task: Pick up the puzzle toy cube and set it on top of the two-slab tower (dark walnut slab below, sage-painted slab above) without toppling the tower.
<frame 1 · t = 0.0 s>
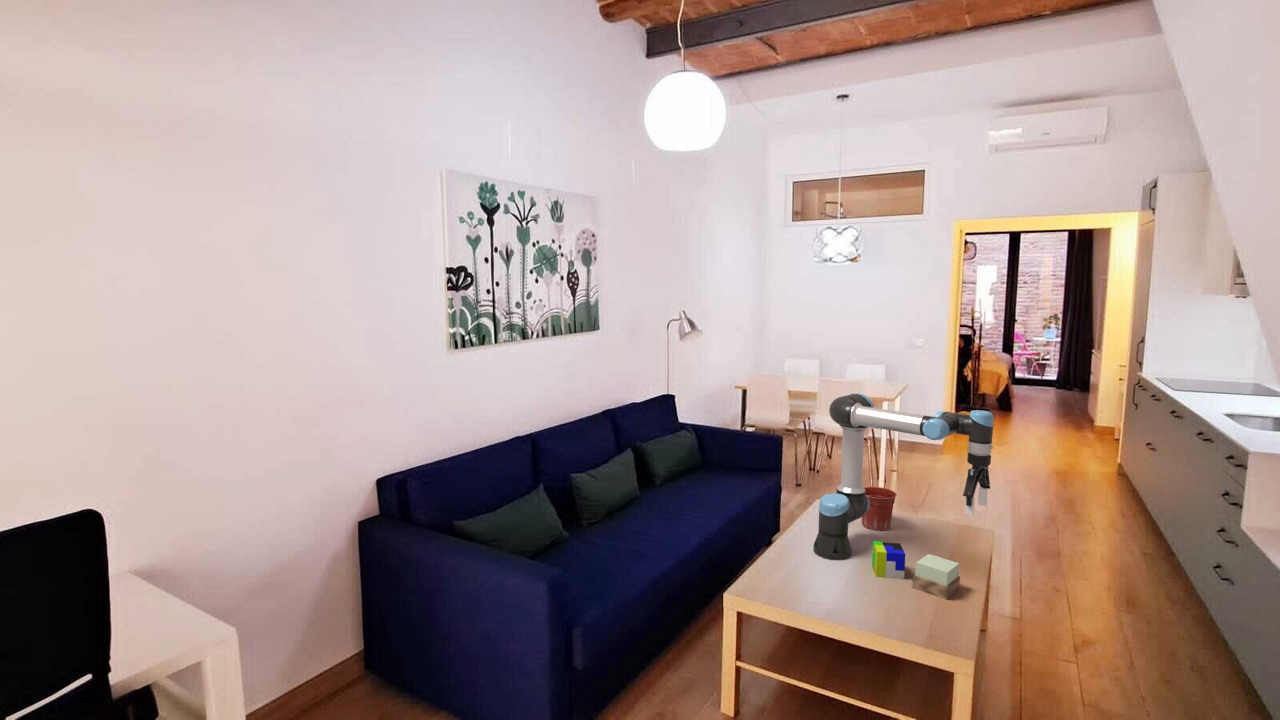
hand: (975, 509, 232), 28 cm above the table, fingers open, 13 cm apart
top slab: (936, 575, 230), point 5 cm above the table, touching bottom slab
puzzle toy: (887, 572, 243), on the table
bottom slab: (935, 589, 230), on the table, touching top slab
flower pot: (875, 526, 290), on the table
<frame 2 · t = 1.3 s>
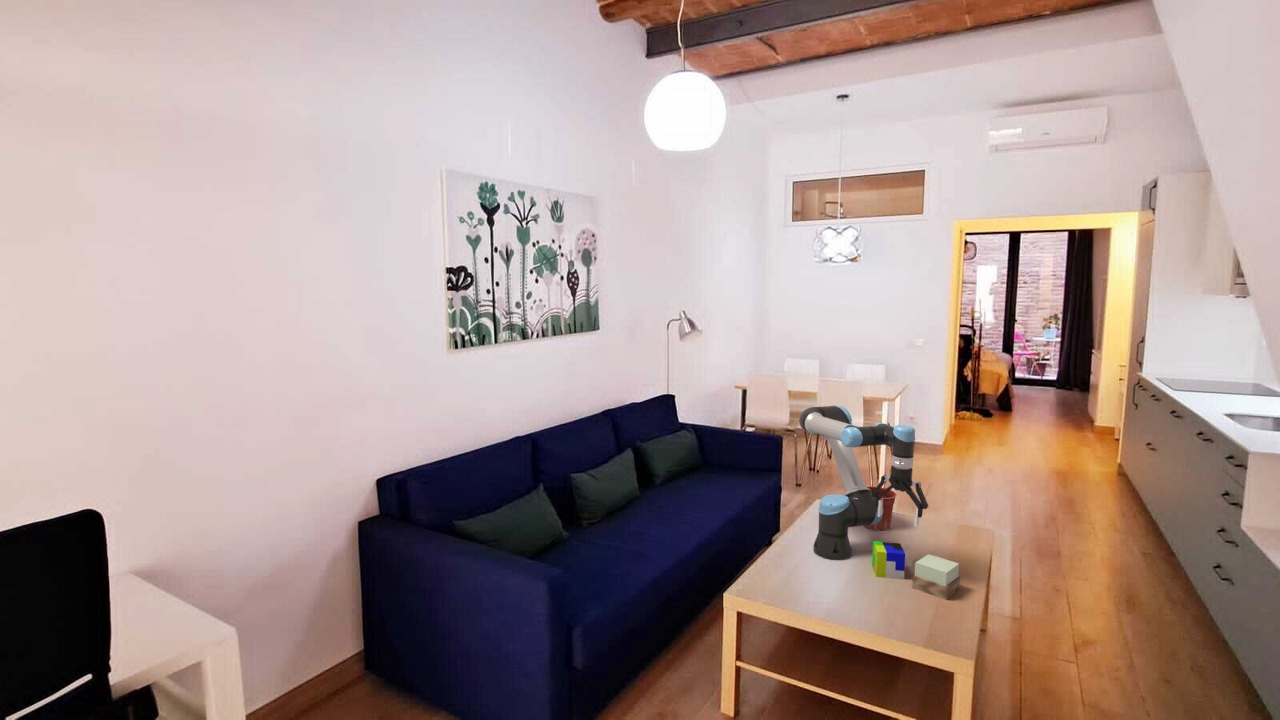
hand: (897, 520, 241), 21 cm above the table, fingers open, 13 cm apart
nothing on the table moved.
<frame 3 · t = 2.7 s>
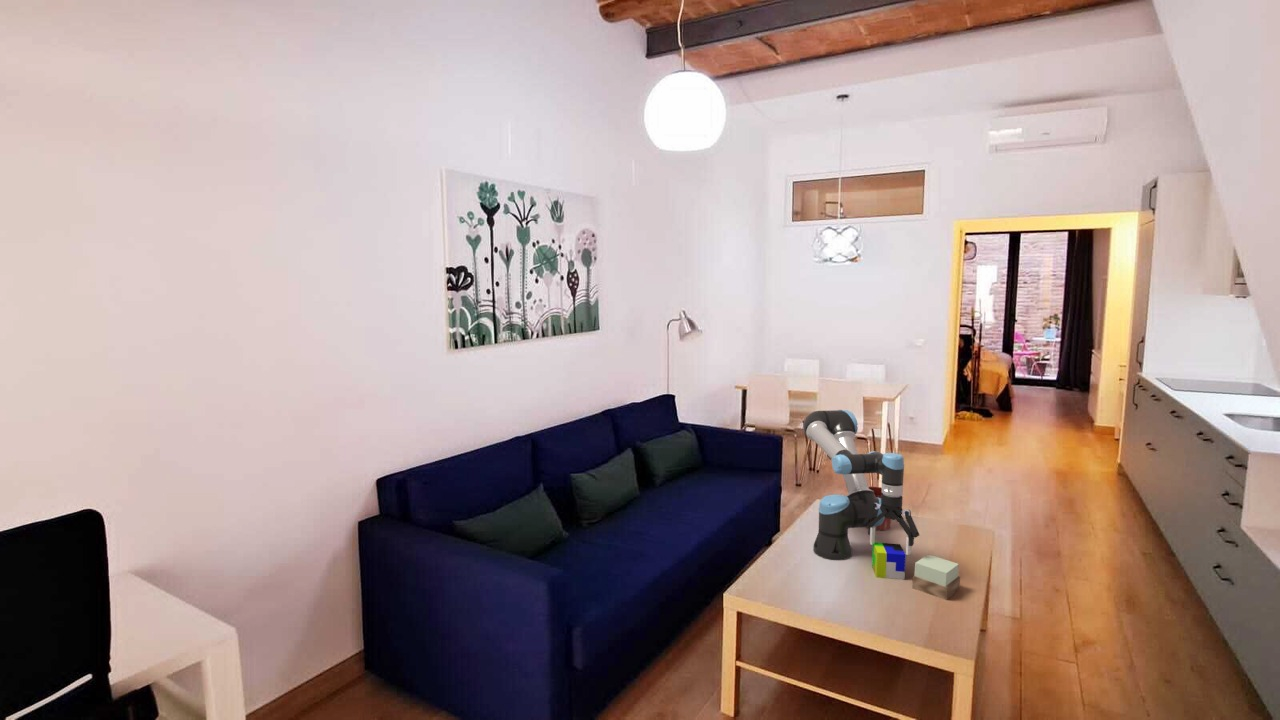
hand: (889, 549, 241), 10 cm above the table, fingers open, 13 cm apart
puzzle toy: (887, 573, 243), on the table, touching gripper
everything else where it was.
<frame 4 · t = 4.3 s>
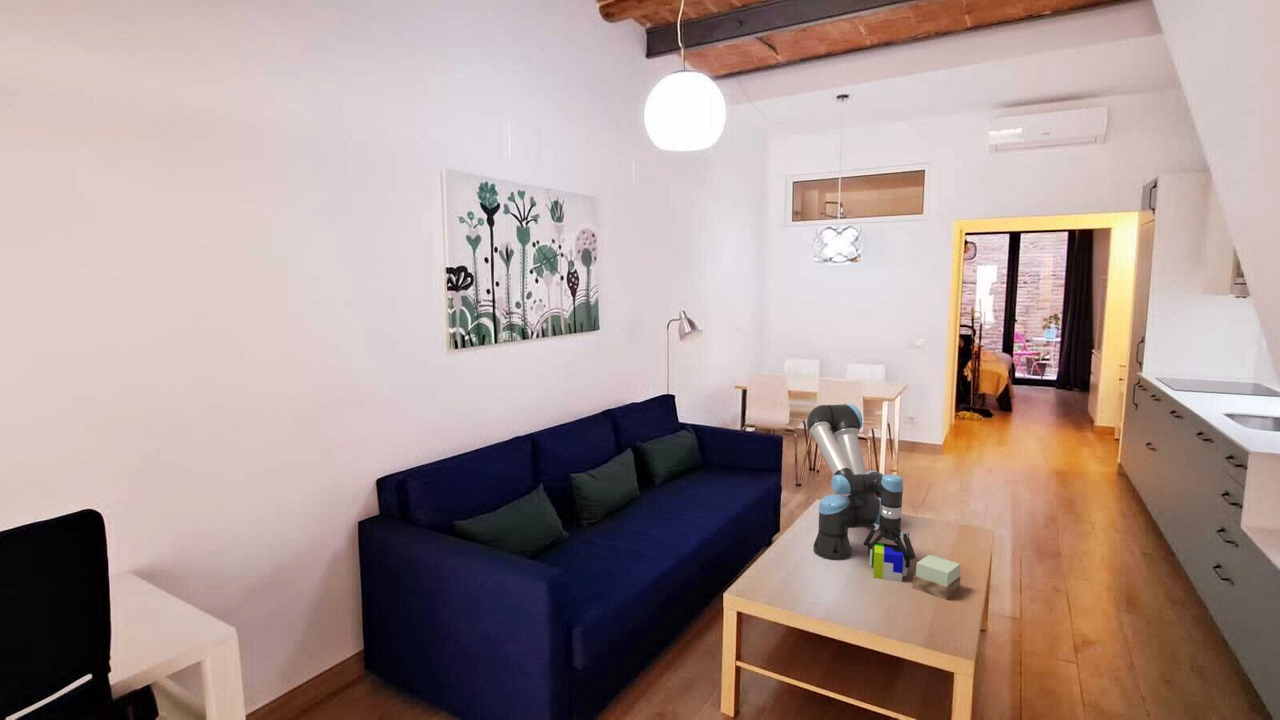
hand: (887, 569, 243), 1 cm above the table, fingers closed on puzzle toy, 12 cm apart
puzzle toy: (887, 574, 242), on the table, touching gripper
everything else where it was.
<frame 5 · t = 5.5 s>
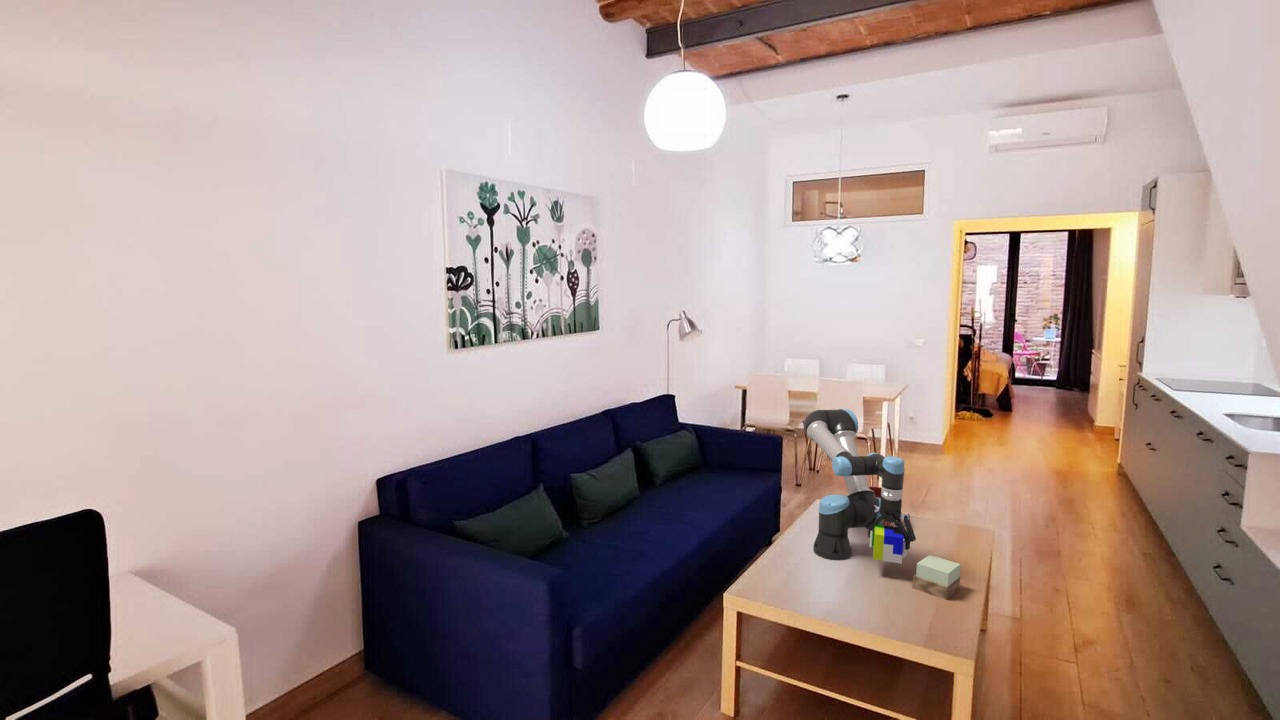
hand: (887, 551, 243), 8 cm above the table, fingers closed on puzzle toy, 12 cm apart
puzzle toy: (887, 556, 241), point 7 cm above the table, touching gripper
everything else where it was.
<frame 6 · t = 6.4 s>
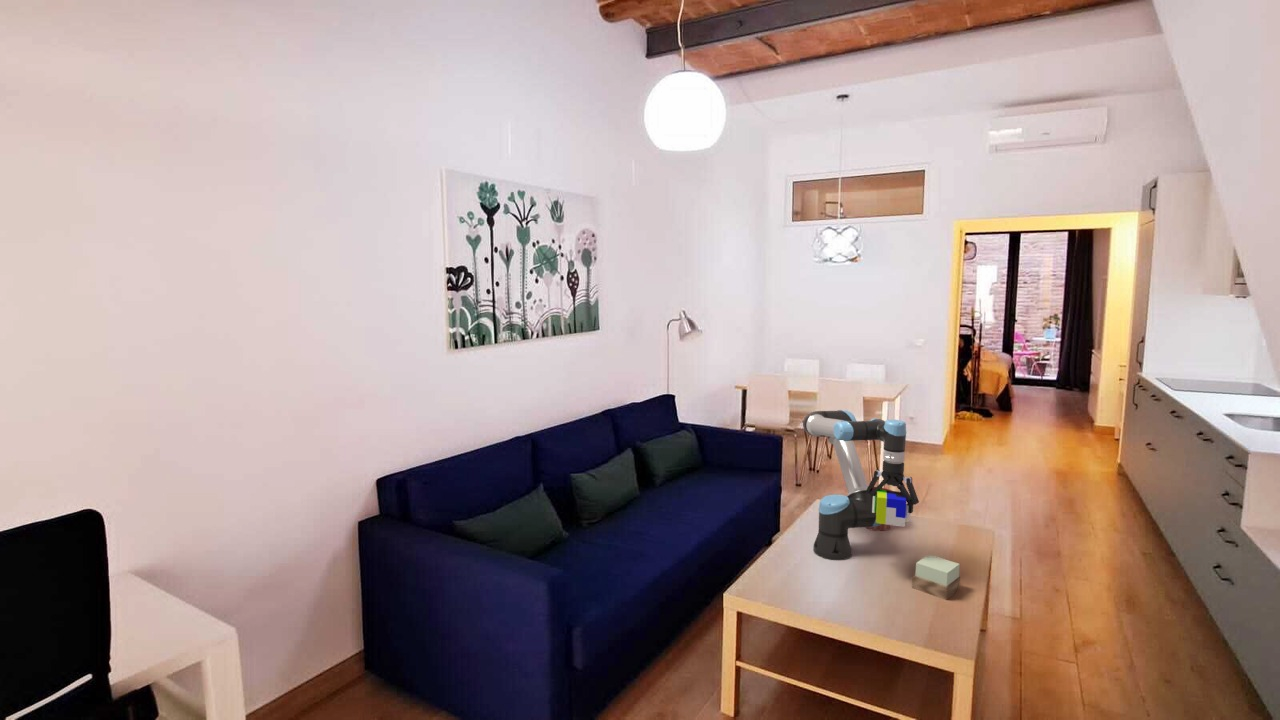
hand: (890, 516, 241), 22 cm above the table, fingers closed on puzzle toy, 12 cm apart
puzzle toy: (890, 520, 239), point 21 cm above the table, touching gripper
everything else where it was.
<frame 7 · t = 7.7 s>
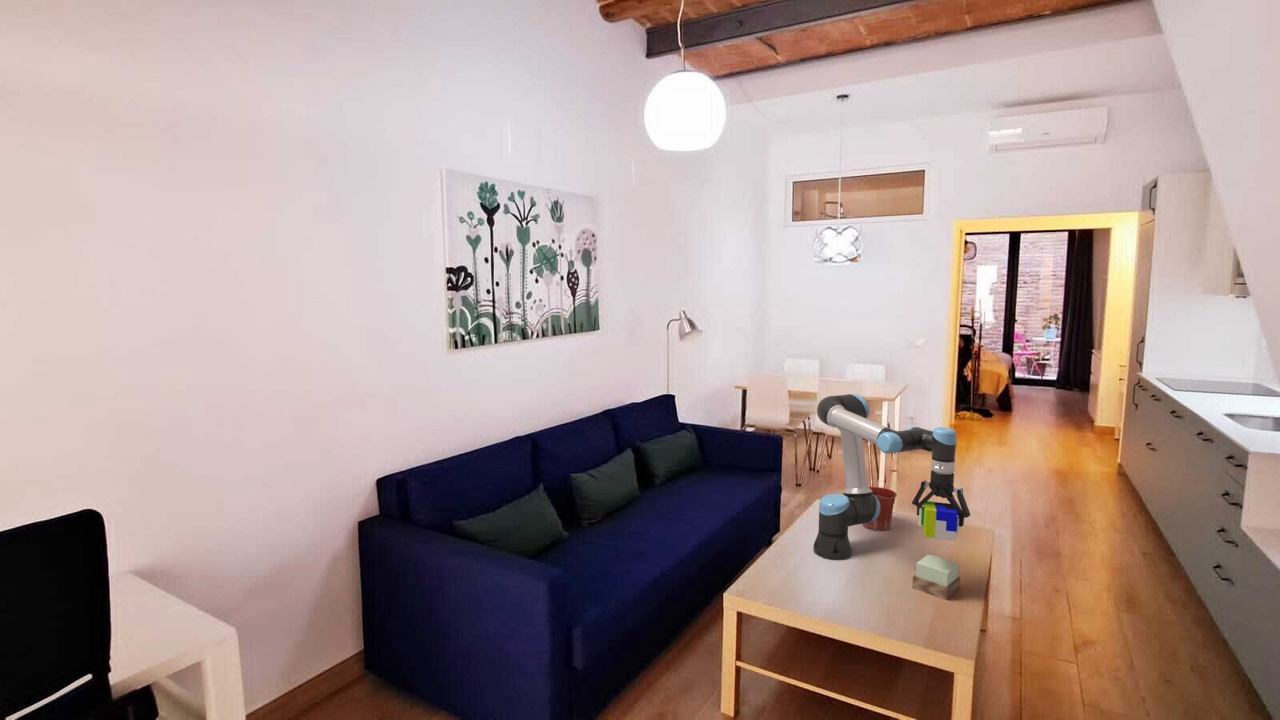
hand: (939, 529, 228), 22 cm above the table, fingers closed on puzzle toy, 12 cm apart
puzzle toy: (938, 534, 226), point 21 cm above the table, touching gripper
everything else where it was.
when the fingers open (12 cm above the table, at t = 10.5 s): puzzle toy drops 2 cm, resting on top slab.
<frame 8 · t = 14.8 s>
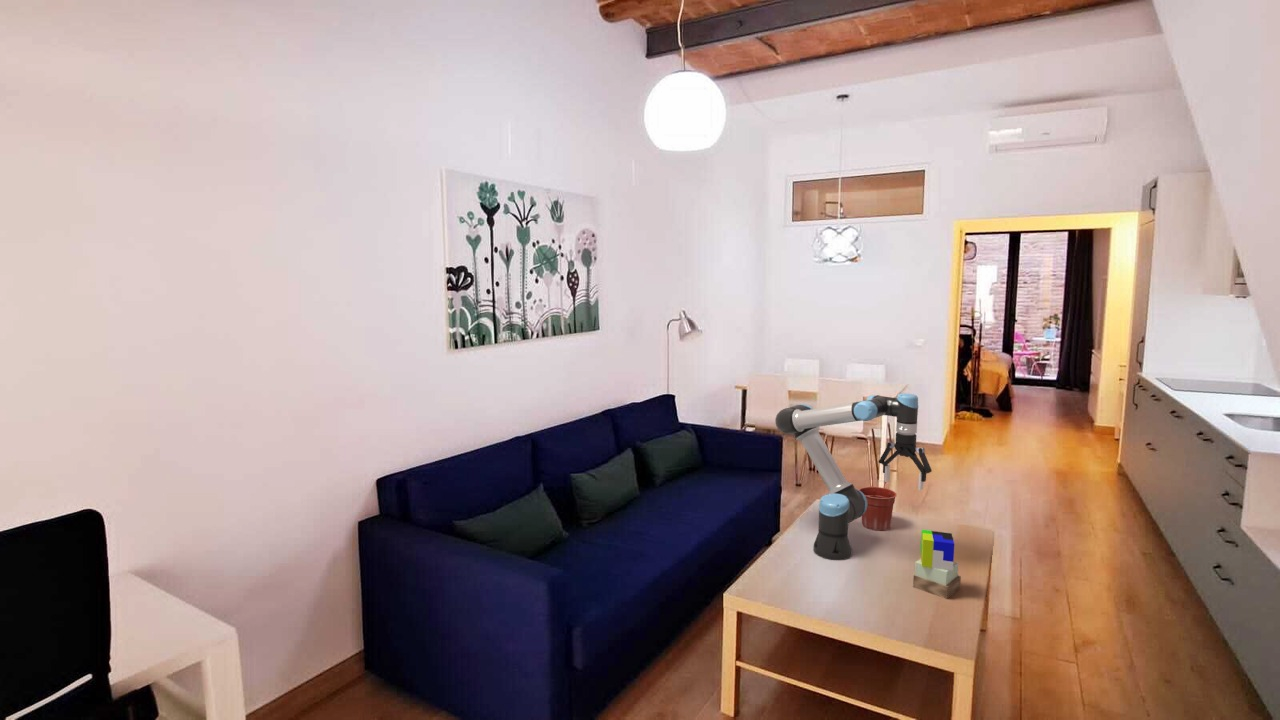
hand: (903, 485, 251), 31 cm above the table, fingers open, 13 cm apart
top slab: (936, 575, 231), point 4 cm above the table, touching bottom slab, puzzle toy
puzzle toy: (936, 563, 230), point 9 cm above the table, touching top slab
at the end: puzzle toy 0.4 cm from the top slab (horizontally); puzzle toy point 9.4 cm above the table; top slab tilted 0° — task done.
